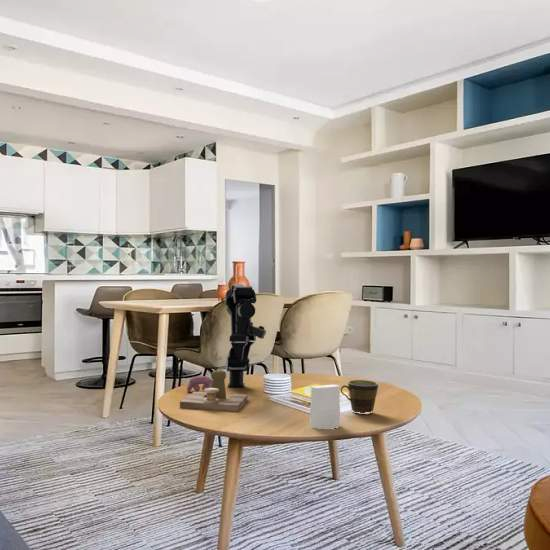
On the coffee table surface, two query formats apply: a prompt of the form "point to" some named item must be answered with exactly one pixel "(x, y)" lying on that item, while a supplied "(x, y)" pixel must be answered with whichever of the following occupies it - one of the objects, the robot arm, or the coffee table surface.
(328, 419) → the upright rounded white block
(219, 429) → the coffee table surface
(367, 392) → the ceramic cup
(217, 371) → the olive bulb shape
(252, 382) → the coffee table surface
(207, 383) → the purple toy elephant
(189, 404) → the notched board
